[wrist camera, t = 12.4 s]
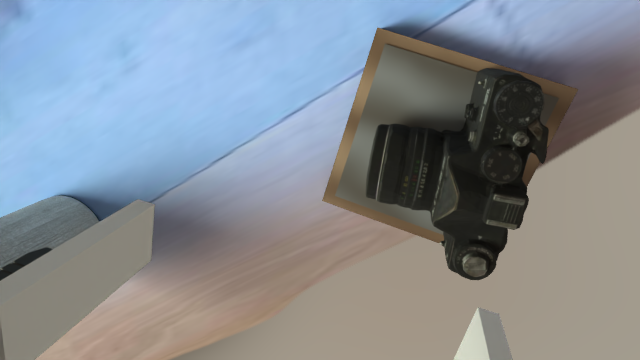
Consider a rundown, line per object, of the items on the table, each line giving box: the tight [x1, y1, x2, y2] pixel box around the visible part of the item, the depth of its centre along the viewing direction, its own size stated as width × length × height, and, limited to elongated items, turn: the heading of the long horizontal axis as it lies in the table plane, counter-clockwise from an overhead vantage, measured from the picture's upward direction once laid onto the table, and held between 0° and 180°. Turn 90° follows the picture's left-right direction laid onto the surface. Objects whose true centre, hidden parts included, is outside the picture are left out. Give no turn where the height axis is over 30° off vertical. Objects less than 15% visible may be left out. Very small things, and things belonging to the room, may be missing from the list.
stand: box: [322, 28, 578, 243], centre depth 35 cm, size 16×16×3 cm
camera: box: [365, 68, 549, 280], centre depth 29 cm, size 14×11×10 cm
